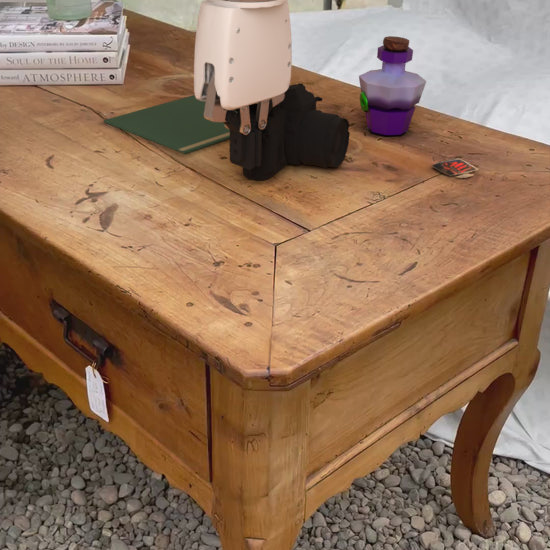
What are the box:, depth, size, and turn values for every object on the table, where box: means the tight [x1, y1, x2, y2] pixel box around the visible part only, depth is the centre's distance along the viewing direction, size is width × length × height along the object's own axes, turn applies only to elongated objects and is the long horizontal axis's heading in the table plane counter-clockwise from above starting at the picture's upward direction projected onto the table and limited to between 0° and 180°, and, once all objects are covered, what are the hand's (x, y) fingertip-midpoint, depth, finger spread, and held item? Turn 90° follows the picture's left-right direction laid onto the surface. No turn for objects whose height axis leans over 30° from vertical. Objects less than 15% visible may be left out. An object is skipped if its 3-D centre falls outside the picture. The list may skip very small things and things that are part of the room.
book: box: [103, 94, 237, 155], centre depth 104 cm, size 18×16×1 cm
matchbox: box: [430, 157, 479, 179], centre depth 91 cm, size 5×5×1 cm
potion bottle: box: [358, 35, 427, 138], centre depth 100 cm, size 9×9×12 cm
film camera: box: [242, 83, 351, 182], centre depth 90 cm, size 15×10×9 cm, turn 154°
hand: (245, 164), depth 83 cm, fingers closed
